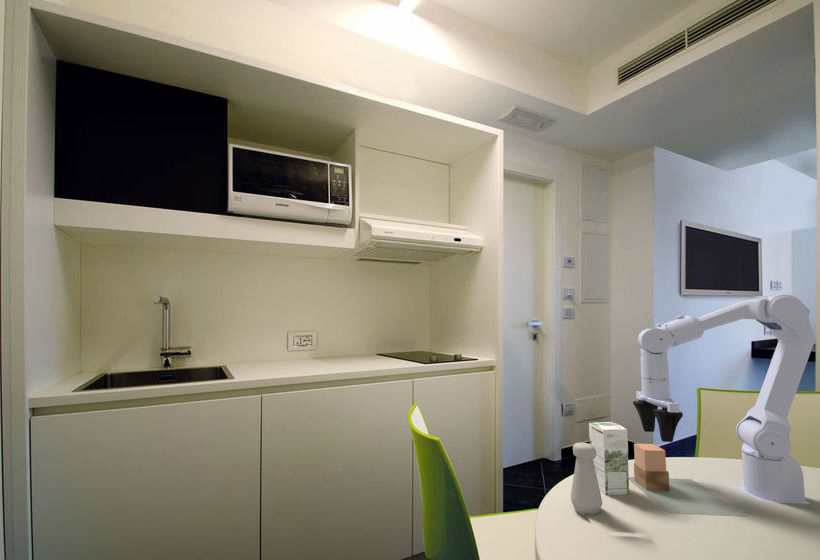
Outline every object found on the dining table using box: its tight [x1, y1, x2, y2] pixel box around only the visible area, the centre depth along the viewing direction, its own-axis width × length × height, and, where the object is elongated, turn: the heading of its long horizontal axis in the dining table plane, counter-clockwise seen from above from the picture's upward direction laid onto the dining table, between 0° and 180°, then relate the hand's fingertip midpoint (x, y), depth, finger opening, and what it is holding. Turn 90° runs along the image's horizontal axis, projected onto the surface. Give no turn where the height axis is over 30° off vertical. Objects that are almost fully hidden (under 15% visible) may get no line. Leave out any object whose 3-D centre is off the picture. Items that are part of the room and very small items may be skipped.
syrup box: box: [588, 421, 630, 496], centre depth 87 cm, size 6×6×14 cm
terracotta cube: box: [633, 443, 667, 472], centre depth 88 cm, size 4×4×4 cm
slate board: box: [629, 476, 749, 517], centre depth 84 cm, size 15×17×1 cm
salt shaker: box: [570, 442, 603, 517], centre depth 78 cm, size 6×6×13 cm
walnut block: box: [633, 462, 670, 491], centre depth 88 cm, size 5×5×4 cm
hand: (657, 436), depth 93 cm, fingers open, 7 cm apart
